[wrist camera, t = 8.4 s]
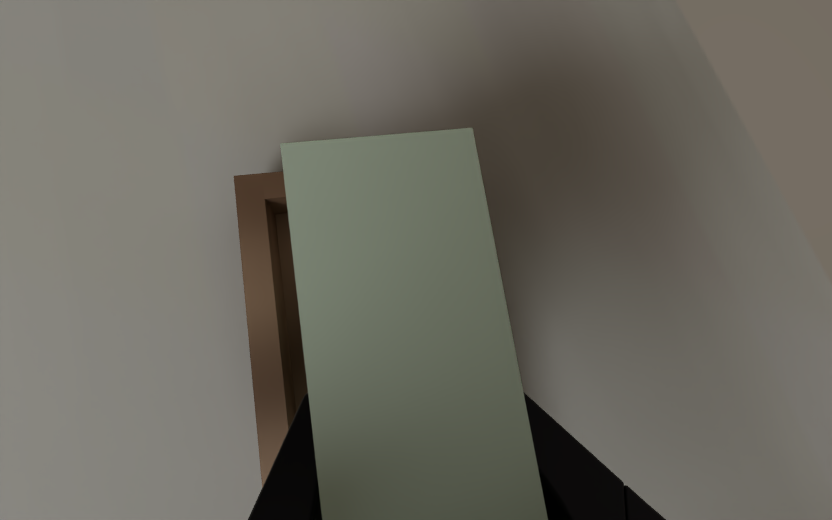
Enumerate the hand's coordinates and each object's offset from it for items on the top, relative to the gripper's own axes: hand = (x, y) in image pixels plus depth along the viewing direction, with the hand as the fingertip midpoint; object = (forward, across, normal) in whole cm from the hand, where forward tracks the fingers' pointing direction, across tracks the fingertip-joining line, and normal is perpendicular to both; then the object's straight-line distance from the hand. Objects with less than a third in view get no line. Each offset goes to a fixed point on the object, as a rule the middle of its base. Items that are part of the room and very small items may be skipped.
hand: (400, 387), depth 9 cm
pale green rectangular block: (+5, 0, +5) cm, 7 cm away
